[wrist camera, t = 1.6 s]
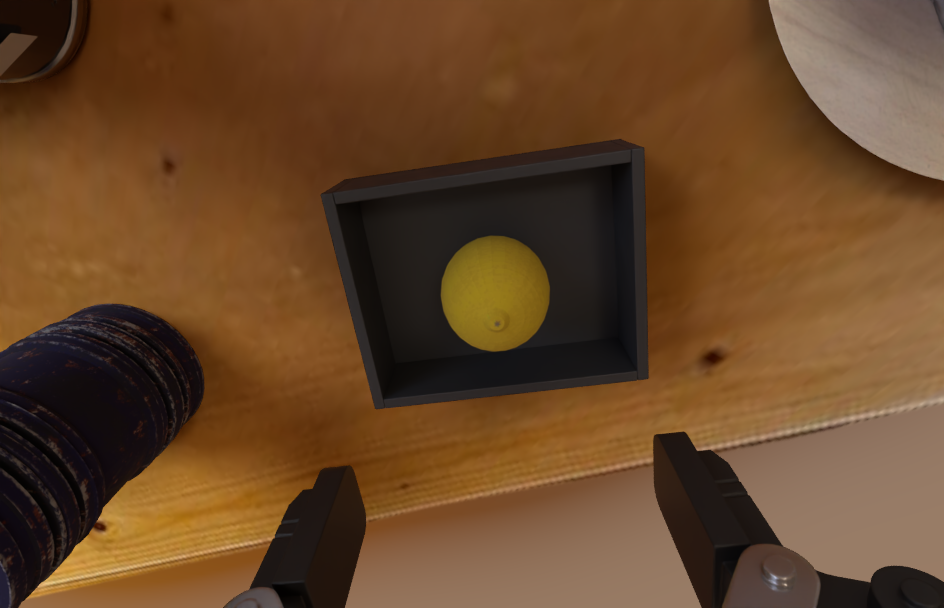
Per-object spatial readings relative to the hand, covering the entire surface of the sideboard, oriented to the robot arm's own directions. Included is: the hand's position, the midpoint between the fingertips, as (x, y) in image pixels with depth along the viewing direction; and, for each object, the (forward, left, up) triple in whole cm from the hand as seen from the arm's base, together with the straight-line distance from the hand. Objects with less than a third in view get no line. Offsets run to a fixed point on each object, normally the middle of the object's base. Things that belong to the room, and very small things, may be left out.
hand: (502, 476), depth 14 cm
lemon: (0, 0, -18) cm, 18 cm away
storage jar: (-24, -4, -18) cm, 31 cm away
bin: (0, 0, -18) cm, 18 cm away
